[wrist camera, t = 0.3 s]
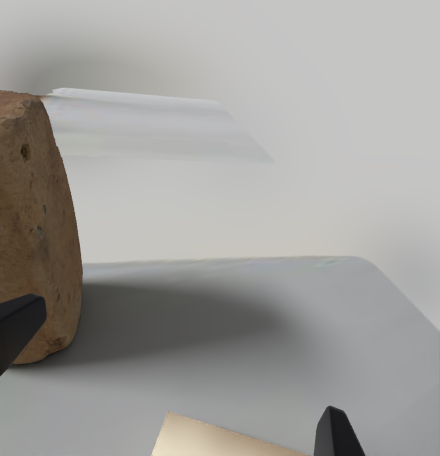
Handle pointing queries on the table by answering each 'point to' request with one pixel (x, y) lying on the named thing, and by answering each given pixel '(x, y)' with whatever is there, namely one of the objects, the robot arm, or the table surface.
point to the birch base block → (209, 441)
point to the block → (37, 224)
